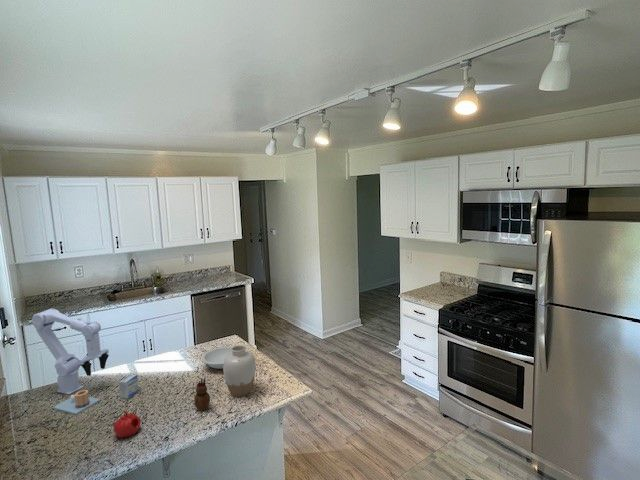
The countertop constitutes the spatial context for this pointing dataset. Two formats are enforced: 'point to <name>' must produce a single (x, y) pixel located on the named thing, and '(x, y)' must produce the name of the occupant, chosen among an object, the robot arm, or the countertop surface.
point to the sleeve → (82, 399)
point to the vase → (239, 371)
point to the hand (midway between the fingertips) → (95, 371)
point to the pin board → (70, 405)
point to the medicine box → (129, 386)
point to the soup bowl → (216, 356)
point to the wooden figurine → (201, 396)
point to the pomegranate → (127, 425)
